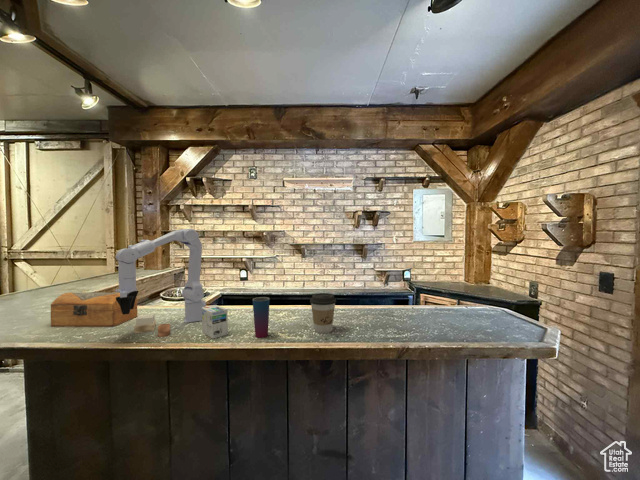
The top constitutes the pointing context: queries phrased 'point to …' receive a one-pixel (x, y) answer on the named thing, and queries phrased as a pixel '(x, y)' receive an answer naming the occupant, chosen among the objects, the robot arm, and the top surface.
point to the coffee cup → (323, 311)
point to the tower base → (145, 328)
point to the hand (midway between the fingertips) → (128, 311)
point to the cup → (261, 316)
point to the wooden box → (89, 310)
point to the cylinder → (163, 330)
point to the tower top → (145, 320)
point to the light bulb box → (214, 321)
